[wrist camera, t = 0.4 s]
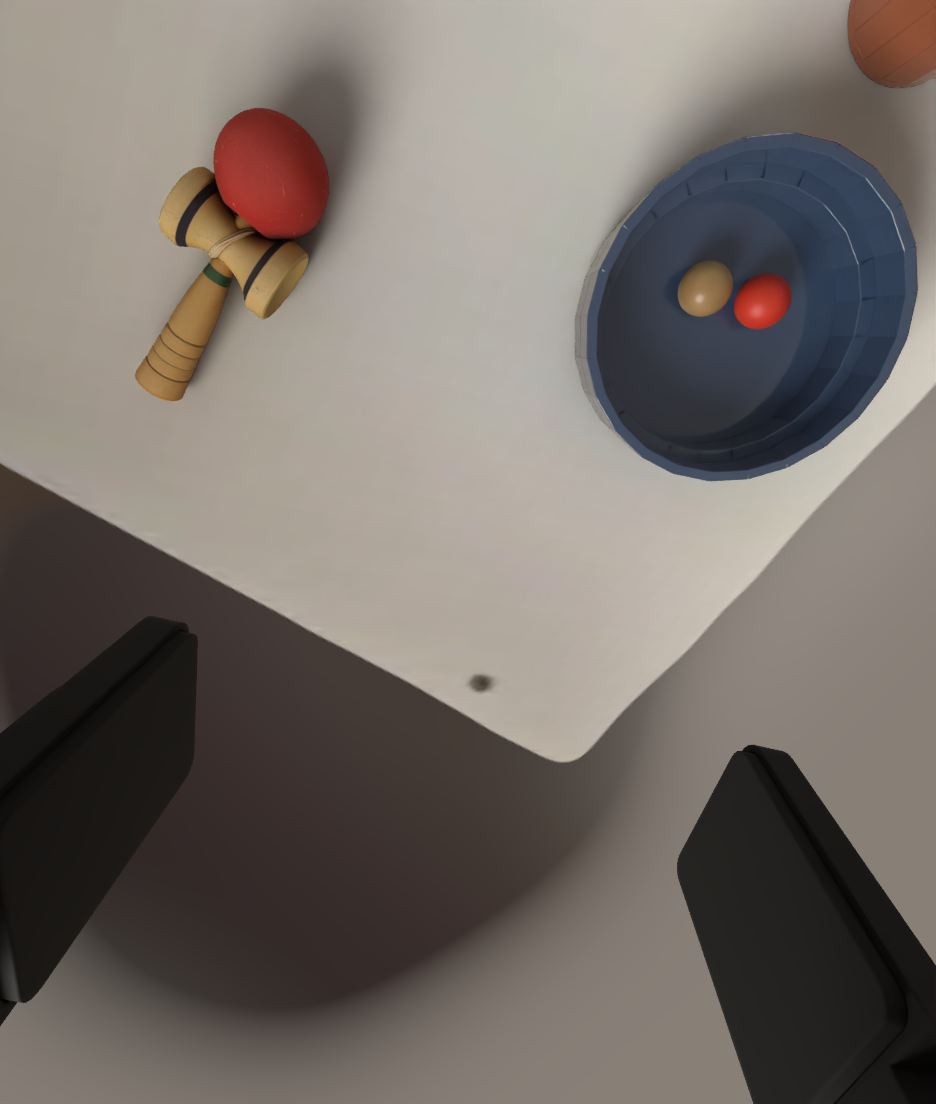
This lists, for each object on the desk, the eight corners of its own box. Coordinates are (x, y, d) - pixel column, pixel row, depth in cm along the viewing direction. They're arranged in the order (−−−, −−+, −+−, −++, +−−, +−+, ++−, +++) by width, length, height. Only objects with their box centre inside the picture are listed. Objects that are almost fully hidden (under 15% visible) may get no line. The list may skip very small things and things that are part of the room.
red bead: (736, 271, 33) (759, 265, 30) (784, 281, 33) (811, 276, 30) (718, 323, 34) (738, 323, 31) (764, 334, 34) (788, 334, 31)
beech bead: (680, 258, 33) (698, 251, 30) (728, 269, 33) (750, 263, 30) (664, 311, 34) (679, 309, 31) (710, 322, 34) (730, 321, 31)
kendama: (238, 422, 39) (379, 194, 31) (172, 436, 34) (323, 161, 26) (159, 347, 39) (281, 97, 31) (79, 347, 33) (202, 41, 25)
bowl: (619, 136, 31) (643, 97, 26) (905, 202, 31) (984, 176, 26) (544, 433, 37) (552, 448, 32) (783, 483, 38) (827, 506, 33)
